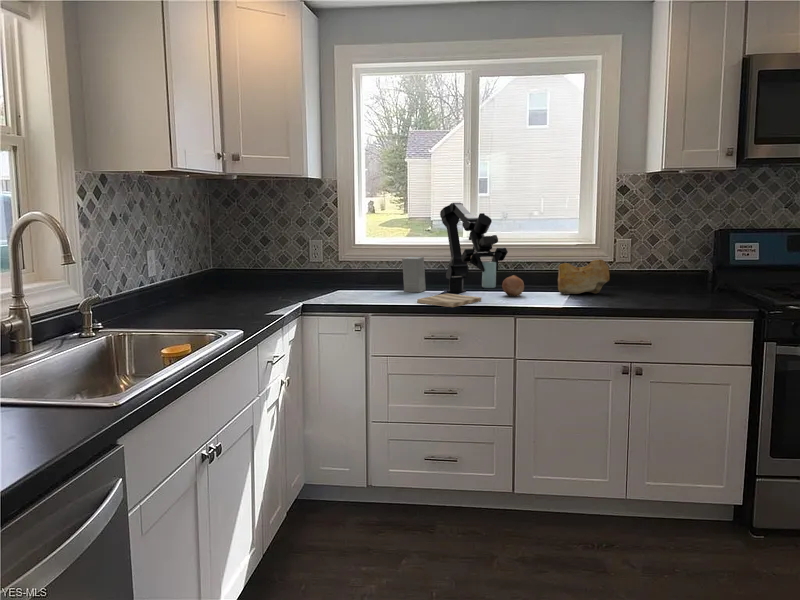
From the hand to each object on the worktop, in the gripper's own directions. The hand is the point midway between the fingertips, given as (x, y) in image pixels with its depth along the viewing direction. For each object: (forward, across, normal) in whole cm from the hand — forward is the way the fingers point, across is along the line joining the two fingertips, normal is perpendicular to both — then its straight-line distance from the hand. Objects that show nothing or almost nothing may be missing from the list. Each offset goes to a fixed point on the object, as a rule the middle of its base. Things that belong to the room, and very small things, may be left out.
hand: (490, 270), depth 269 cm
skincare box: (-20, -18, +40) cm, 48 cm away
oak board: (+2, -14, +17) cm, 22 cm away
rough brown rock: (0, +51, +19) cm, 54 cm away
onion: (-1, +18, +20) cm, 27 cm away
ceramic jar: (+4, 0, +6) cm, 7 cm away
